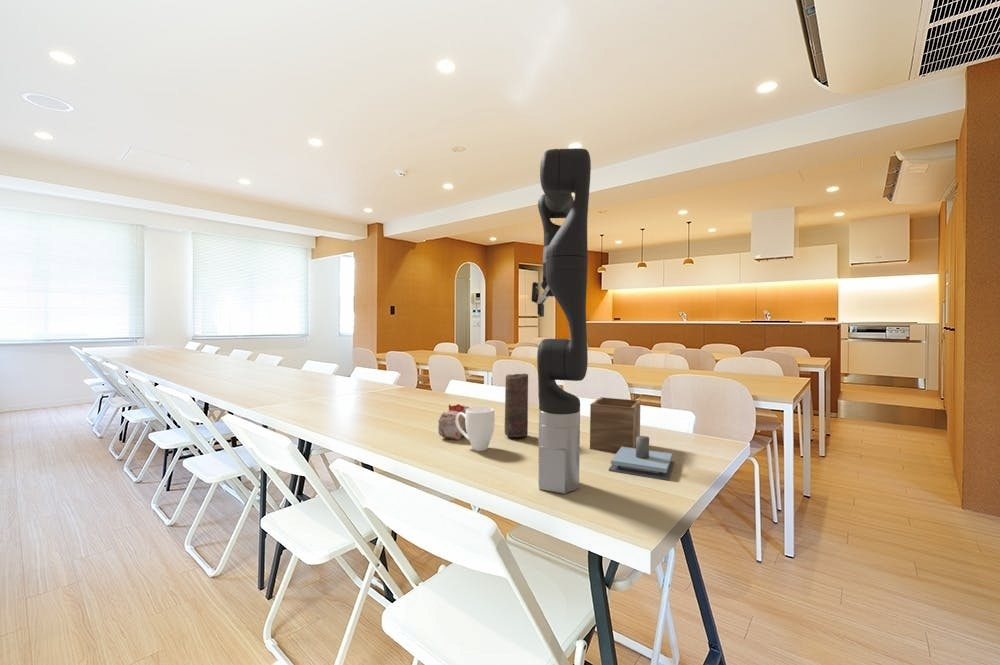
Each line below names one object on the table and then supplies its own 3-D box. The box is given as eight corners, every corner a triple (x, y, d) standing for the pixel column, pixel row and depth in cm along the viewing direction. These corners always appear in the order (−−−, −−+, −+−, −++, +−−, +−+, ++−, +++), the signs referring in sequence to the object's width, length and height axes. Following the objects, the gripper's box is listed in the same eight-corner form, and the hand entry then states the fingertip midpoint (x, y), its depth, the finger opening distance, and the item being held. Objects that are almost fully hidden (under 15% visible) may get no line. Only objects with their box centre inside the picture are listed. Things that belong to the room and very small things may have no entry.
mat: (668, 480, 102) (668, 478, 102) (608, 470, 109) (608, 469, 109) (674, 462, 115) (674, 461, 115) (620, 454, 121) (620, 453, 121)
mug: (498, 446, 128) (499, 408, 128) (487, 454, 121) (487, 413, 120) (462, 441, 133) (462, 404, 133) (449, 449, 125) (449, 410, 125)
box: (632, 454, 121) (633, 408, 121) (589, 448, 127) (590, 404, 126) (639, 443, 132) (640, 400, 131) (600, 438, 137) (600, 397, 137)
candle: (528, 440, 135) (528, 375, 134) (504, 440, 135) (504, 375, 134) (527, 433, 142) (527, 372, 141) (504, 433, 142) (504, 372, 141)
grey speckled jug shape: (461, 441, 133) (461, 409, 133) (436, 440, 135) (436, 408, 135) (474, 430, 147) (474, 401, 146) (451, 428, 148) (451, 400, 148)
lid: (666, 477, 103) (666, 447, 103) (610, 468, 109) (611, 440, 109) (671, 461, 115) (672, 434, 114) (621, 453, 121) (621, 428, 120)
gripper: (528, 262, 129) (528, 316, 130) (575, 259, 123) (574, 317, 124) (537, 264, 136) (537, 316, 137) (582, 262, 130) (582, 317, 130)
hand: (555, 316), depth 130 cm, fingers open, 8 cm apart
